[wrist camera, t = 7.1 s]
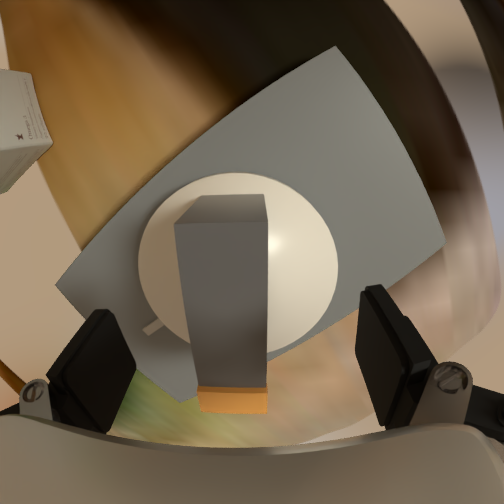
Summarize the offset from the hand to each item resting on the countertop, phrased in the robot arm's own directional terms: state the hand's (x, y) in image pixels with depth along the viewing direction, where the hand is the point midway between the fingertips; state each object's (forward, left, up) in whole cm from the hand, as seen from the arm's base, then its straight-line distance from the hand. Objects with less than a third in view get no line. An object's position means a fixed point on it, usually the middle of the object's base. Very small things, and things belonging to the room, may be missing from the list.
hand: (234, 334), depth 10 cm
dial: (+1, 0, -7) cm, 7 cm away
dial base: (+1, 0, -9) cm, 9 cm away
